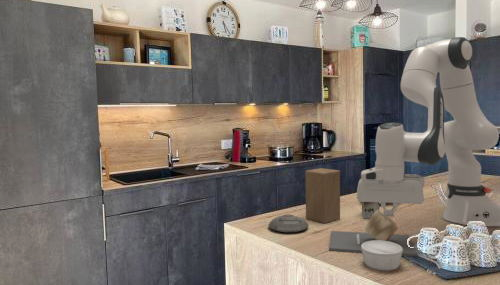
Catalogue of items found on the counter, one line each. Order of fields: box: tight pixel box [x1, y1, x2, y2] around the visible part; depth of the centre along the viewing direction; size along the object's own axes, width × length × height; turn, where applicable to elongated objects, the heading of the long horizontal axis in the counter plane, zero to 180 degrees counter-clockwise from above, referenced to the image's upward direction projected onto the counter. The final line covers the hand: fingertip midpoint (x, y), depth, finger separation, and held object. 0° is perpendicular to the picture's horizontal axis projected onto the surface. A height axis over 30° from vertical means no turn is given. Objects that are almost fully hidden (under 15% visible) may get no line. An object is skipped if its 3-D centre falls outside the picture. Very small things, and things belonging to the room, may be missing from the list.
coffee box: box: [361, 202, 381, 219], centre depth 158 cm, size 9×6×16 cm
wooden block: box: [305, 167, 341, 224], centre depth 155 cm, size 10×10×20 cm
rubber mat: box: [328, 230, 419, 258], centre depth 126 cm, size 26×18×1 cm
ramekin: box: [361, 240, 403, 272], centre depth 108 cm, size 11×11×5 cm
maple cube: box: [364, 208, 399, 241], centre depth 124 cm, size 7×7×7 cm
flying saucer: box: [268, 214, 309, 233], centre depth 144 cm, size 15×15×6 cm
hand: (389, 216), depth 123 cm, fingers closed
